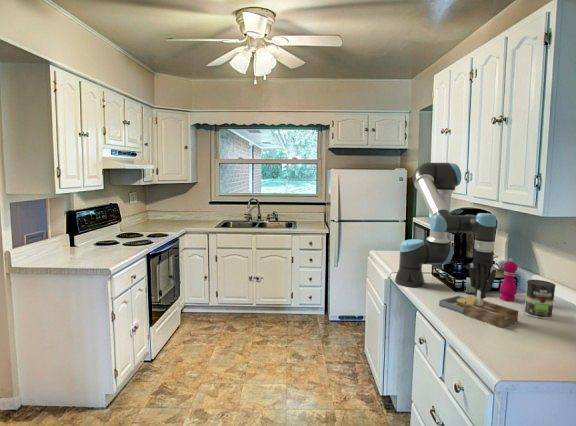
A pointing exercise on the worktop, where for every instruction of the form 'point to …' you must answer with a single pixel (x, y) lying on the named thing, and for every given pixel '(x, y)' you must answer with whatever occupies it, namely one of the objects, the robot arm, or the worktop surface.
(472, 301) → the yellow cube
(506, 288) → the pepper mill
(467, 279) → the ceramic mug
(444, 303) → the tray
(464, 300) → the tan cube
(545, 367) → the worktop surface
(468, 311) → the channel bar
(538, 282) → the coffee can
